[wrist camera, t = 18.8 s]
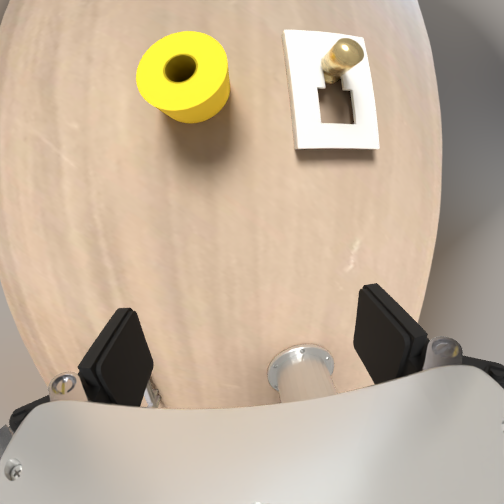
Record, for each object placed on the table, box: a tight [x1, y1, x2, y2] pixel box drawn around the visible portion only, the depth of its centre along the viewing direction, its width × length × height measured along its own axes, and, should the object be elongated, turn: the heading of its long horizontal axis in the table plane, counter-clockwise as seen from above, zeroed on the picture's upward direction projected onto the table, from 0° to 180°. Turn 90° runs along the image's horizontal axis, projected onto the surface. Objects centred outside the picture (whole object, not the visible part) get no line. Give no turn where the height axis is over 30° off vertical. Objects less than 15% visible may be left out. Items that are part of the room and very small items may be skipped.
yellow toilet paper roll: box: [136, 31, 230, 123], centre depth 27 cm, size 10×10×9 cm
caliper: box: [144, 379, 161, 408], centre depth 42 cm, size 20×1×6 cm, turn 6°
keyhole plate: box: [282, 30, 379, 149], centre depth 31 cm, size 18×12×2 cm, turn 5°
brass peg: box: [321, 38, 364, 84], centre depth 27 cm, size 4×4×9 cm
